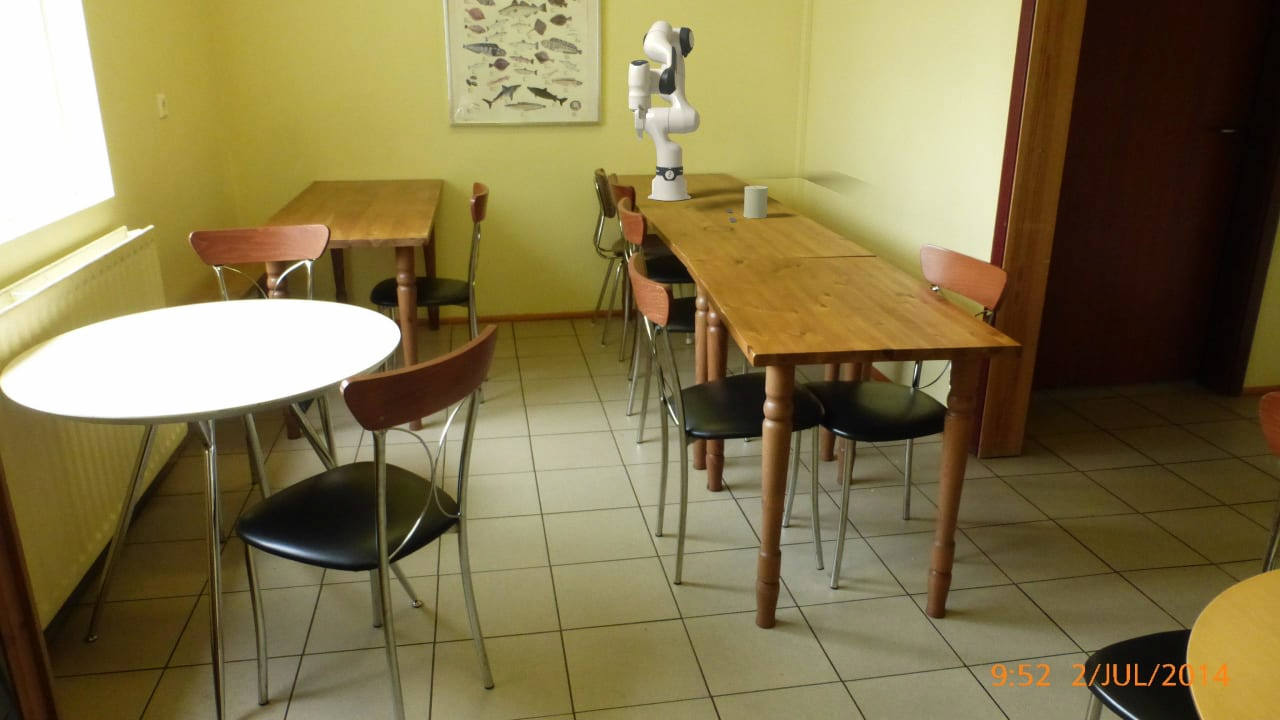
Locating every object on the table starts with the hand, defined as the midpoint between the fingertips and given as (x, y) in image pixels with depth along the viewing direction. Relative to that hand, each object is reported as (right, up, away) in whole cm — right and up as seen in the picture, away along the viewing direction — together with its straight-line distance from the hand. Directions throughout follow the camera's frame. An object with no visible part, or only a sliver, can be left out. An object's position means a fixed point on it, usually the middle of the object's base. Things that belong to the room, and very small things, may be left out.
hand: (640, 140), depth 368 cm
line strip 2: (+36, -33, -8) cm, 49 cm away
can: (+45, -30, 0) cm, 55 cm away
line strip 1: (+36, -26, +12) cm, 46 cm away
